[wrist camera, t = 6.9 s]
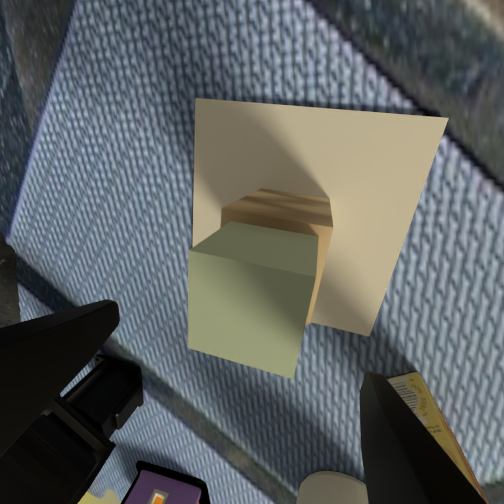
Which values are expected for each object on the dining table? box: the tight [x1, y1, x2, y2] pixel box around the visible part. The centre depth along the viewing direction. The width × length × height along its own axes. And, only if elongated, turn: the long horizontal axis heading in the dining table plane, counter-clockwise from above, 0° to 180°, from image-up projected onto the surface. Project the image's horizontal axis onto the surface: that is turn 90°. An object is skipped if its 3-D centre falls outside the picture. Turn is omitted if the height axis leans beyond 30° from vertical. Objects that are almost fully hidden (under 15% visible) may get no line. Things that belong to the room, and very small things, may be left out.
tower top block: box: [220, 196, 334, 324], centre depth 14 cm, size 5×5×4 cm
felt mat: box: [193, 98, 448, 337], centre depth 19 cm, size 16×16×1 cm
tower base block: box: [247, 188, 331, 209], centre depth 17 cm, size 5×5×4 cm
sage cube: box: [188, 221, 319, 379], centre depth 10 cm, size 4×4×4 cm
